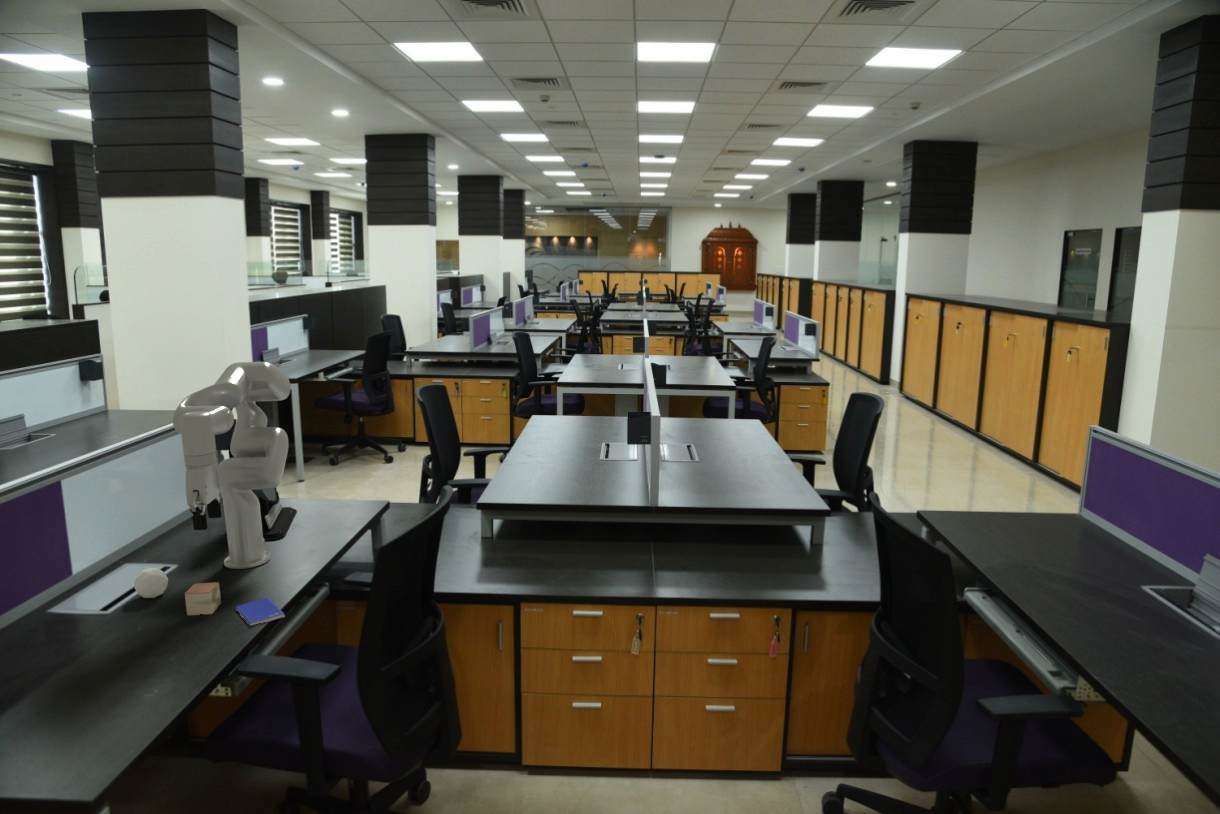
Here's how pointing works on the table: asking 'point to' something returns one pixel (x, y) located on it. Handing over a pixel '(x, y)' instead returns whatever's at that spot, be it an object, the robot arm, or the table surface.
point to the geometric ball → (151, 583)
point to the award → (271, 514)
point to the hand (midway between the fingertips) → (208, 523)
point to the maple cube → (202, 598)
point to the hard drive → (260, 611)
